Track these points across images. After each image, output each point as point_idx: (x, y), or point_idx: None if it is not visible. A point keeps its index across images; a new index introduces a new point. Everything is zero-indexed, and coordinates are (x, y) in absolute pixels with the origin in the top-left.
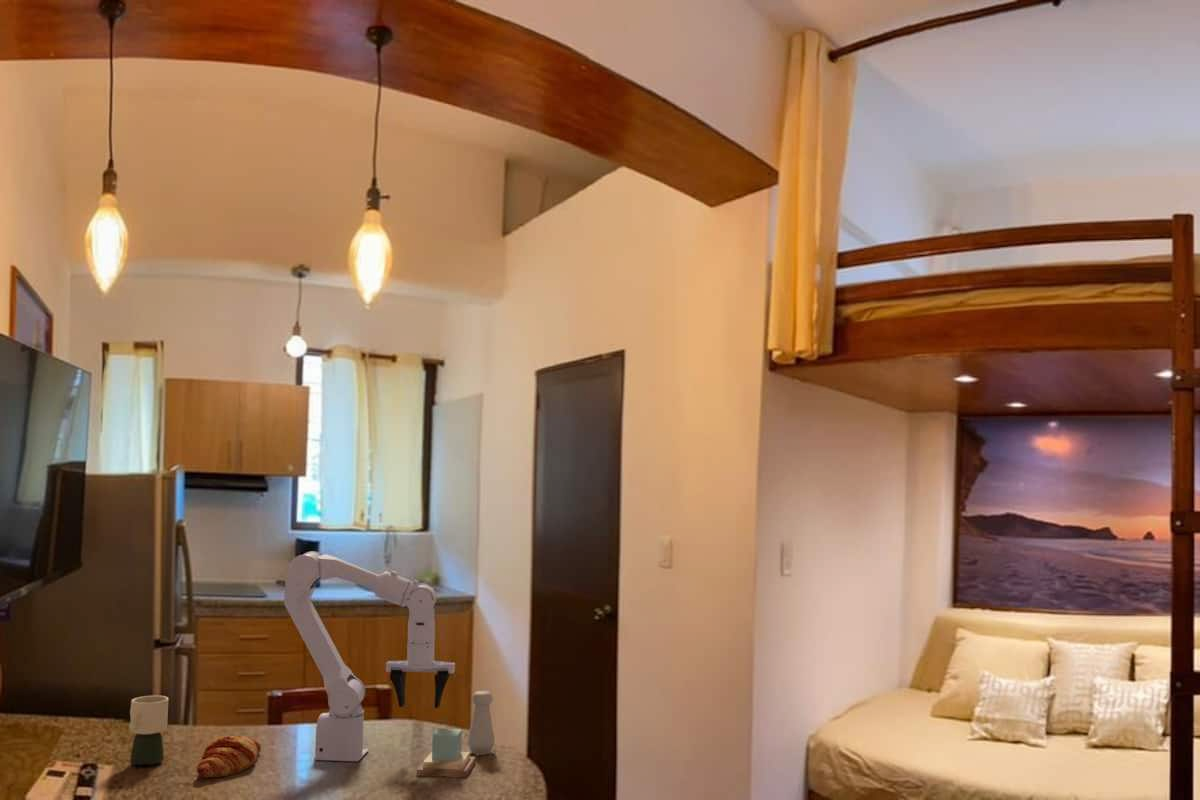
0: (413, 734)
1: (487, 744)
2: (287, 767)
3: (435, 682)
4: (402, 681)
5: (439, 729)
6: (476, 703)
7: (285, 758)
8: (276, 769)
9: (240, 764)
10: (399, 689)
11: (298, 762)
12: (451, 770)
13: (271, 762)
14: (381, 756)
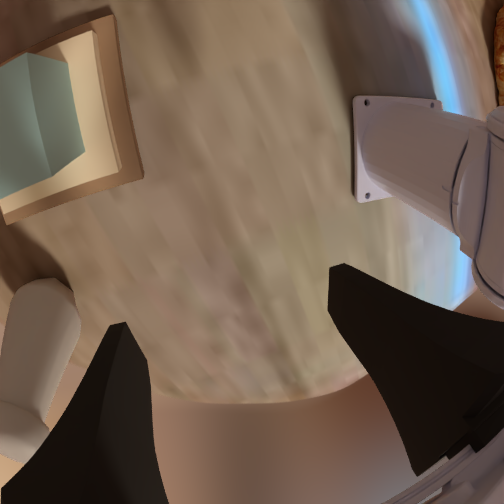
0: (288, 352)
1: (12, 300)
2: (457, 54)
3: (83, 475)
4: (424, 389)
5: (37, 164)
6: (7, 403)
7: (473, 115)
8: (465, 43)
9: (502, 28)
10: (415, 317)
11: (454, 89)
12: (5, 63)
13: (482, 89)
14: (308, 169)
